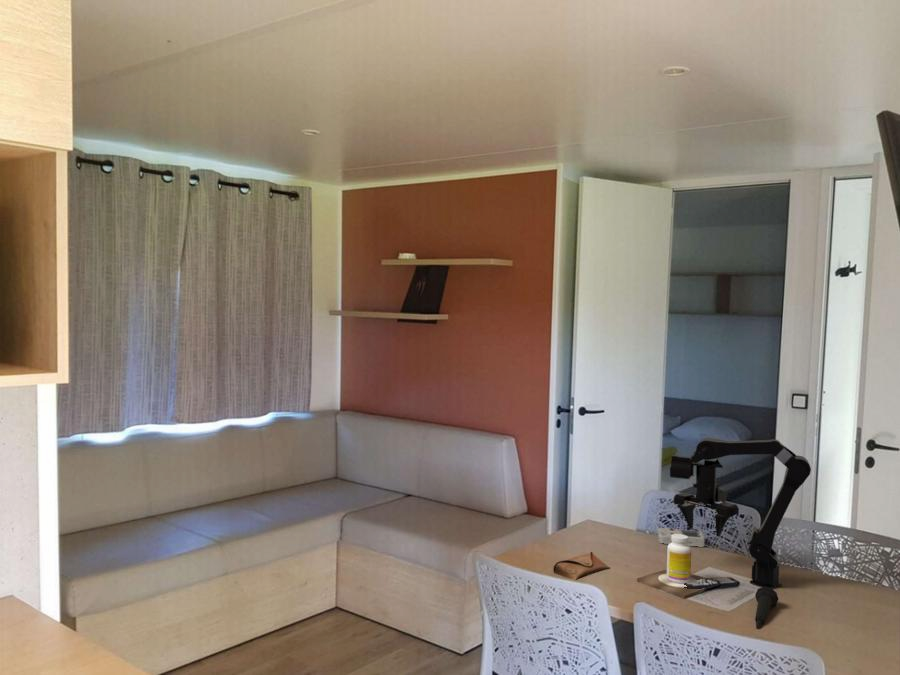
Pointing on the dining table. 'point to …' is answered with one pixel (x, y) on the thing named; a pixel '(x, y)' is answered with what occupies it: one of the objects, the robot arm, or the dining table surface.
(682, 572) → the supplement bottle
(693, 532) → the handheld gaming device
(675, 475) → the robot arm
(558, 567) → the sunglasses case
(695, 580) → the brown flat square board
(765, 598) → the microphone
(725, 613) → the dining table surface
